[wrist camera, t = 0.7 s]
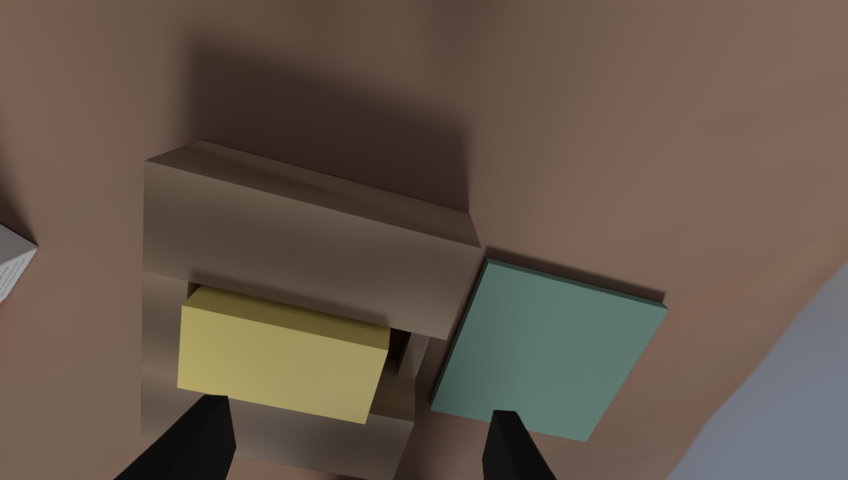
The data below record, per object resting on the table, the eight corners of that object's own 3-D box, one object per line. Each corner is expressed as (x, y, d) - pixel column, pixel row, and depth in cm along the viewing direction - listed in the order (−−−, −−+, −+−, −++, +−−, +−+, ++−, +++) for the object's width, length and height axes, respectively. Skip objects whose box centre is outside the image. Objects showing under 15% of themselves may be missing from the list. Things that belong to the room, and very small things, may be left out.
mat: (582, 433, 25) (585, 442, 25) (429, 402, 24) (429, 410, 23) (662, 303, 21) (669, 309, 21) (486, 257, 20) (488, 263, 20)
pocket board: (395, 420, 25) (391, 483, 21) (184, 379, 23) (140, 439, 19) (469, 213, 19) (481, 248, 15) (201, 140, 18) (144, 160, 14)
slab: (371, 378, 20) (364, 424, 18) (208, 344, 19) (176, 387, 17) (392, 311, 19) (388, 350, 16) (216, 270, 18) (182, 305, 15)
